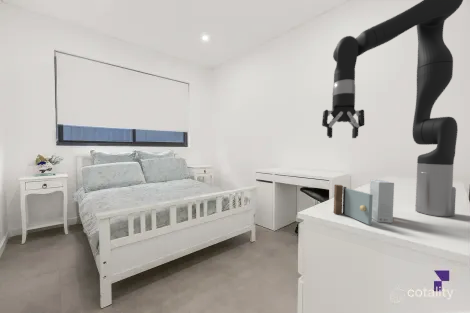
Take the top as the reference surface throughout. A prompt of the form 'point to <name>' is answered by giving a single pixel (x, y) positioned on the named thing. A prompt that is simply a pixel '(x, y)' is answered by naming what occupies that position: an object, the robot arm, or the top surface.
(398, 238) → the top surface
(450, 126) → the robot arm
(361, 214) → the door
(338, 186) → the door frame
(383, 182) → the skincare box
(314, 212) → the top surface
